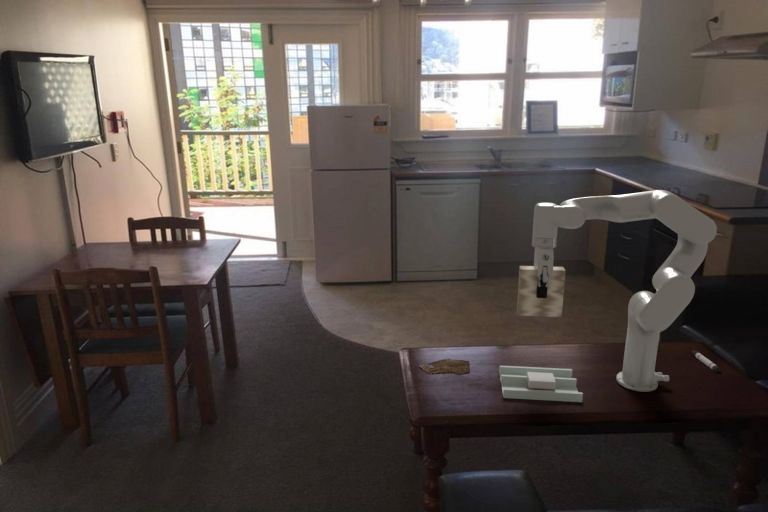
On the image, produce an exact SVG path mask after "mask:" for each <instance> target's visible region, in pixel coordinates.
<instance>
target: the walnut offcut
mask: <svg viewBox="0 0 768 512" xmlns="http://www.w3.org/2000/svg"><path fill="white" fill-rule="evenodd" d="M526 387H527V389H528V390H546V391H555V389H538V388H529V386H528V382H527V381H526Z"/></svg>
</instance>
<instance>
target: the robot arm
mask: <svg viewBox="0 0 768 512" xmlns="http://www.w3.org/2000/svg"><path fill="white" fill-rule="evenodd" d="M533 208H534V209H533V221H532V222H533V223H532V236H531V238H532V239H531V246H532V247H533V248H534V255H533V258H534V259H533V266H534V267H535V269H536V276H537V277H538V286H537V295H536V297H537V298H547V283H548V276H549V278H553V267H554V260H555V259H554V258H555V257H554V254H555V253H554V249H555V248H557V239H558V230H559V229H558V228H563V229H570V230H574V229H575V230H576V229H578V228H582V226H583V225H584V224H585V222H586V221H587V220H605V221H609V222H612V223H628V222H636V221H643V220H654V219H656V220H657V221H659V222H661V223H662V224H663V225H664V226H666V227H667V228H669V229H670V230H671V231H673V232H674V233H676V234H677V243H676V245H675V247H674V249H673V250H672V252H671V253H670V254H669V255H668V257H667V258H666V260H664V262H663V263H662V264H661V265H660V266H659V268H658V269H657V271H656V272H655V273H654V275H652V278H651V279H652V280H651V281H652V282H651V283H652V286H653V288H654V289H655V290H656V292H655V293H653V292H651V291H648V290H642V291H638V292H635V294H633V295H632V296H631V298H630V299H629V302H628V307H627V329H626V338H625V346H624V354H623V362H622V371H619V372H618V373H617V374H616V378H615V379H616V382H617V383H618V384H619V385H620V386H622V387H624V388H625V389H628V390H631V391H636V392H641V393H642V392H646V393H647V392H648V393H649V392H653V391H655V390H656V389H658V385H659V383H658V382H660V381H661V382H662V381H663V382H669V381H670V375H667V374H663V372H661V371H658V372H656V371H655V370H656V369H655V368H656V361H657V354H658V347H659V342H660V341H659V340H660V333H661V332H664V331H666V329H668V328H669V327H670V326H671V325H672V324H673V323H674V321H676V319H677V318H678V317H679V316H680V314H681V313H682V312H683V311H684V310H685V309H686V307H687V306H688V305H689V304H690V303H691V301H692V299H693V298H694V295H695V293H696V292H695V291H696V285H695V283H694V281H693V280H692V276H693V275H694V273H695V272H696V271H697V270H698V268H699V267H700V265H701V264H702V263H703V262H704V260H705V257H706V255H707V254H708V248H709V243H710V242H712V241H713V240H714V239H715V238H716V235H717V232H718V227H717V224H716V222H715V221H714V220H713V219H712V218H711V217H709V216H708V215H706V214H705V213H703V212H701V211H700V210H698V209H697V208H696V207H694V206H692V205H691V204H689V203H688V202H687V201H685V200H684V199H682V198H681V197H680V196H678V195H677V194H675V193H673V192H671V191H669V190H665V189H654V190H647V191H646V190H645V191H641V192H633V193H626V194H625V193H624V194H616V195H613V194H612V195H598V196H596V195H595V196H585V197H577V198H571V199H567V200H564V201H561V203H560V204H559V205H558V204H556V203H553V202H547V201H546V202H537V203H536V204H535V205H534V207H533ZM540 274H541V275H543V277H541V276H540ZM541 279H542V280H541ZM540 281H541V282H540Z"/></svg>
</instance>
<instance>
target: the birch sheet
mask: <svg viewBox="0 0 768 512" xmlns="http://www.w3.org/2000/svg"><path fill="white" fill-rule="evenodd" d="M518 269H519V270H518V283H517V284H518V286H517V300H516V301H517V302H516V313H517V316H519V317H520V316H521V317H522V316H523V317H524V316H525V317H548V318H549V317H550V318H562V316H563V308H564V307H563V305H564V295H565V294H564V293H565V283H566V273H567V272H566V269H565V268H564V266H553V278H549V276H548V283H547V298H537V297H536V295H537V286H538V277H537V276H536V269H535V267H534V265H519V268H518ZM540 276H541V277H543V275H541V274H540ZM541 280H542V279H541ZM540 282H541V281H540Z"/></svg>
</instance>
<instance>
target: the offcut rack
mask: <svg viewBox="0 0 768 512" xmlns="http://www.w3.org/2000/svg"><path fill="white" fill-rule="evenodd" d="M498 369H499V371H498V373H499V374H498V375H499V379H500V384H501V389H502V390H501V391H502V397H503V398H504V399H515V400H516V399H517V400H518V399H519V400H537V401H550V402H551V401H555V402H556V401H557V402H568V403H569V402H572V403H583V396H584V393H583V392H580V391H578V388H577V383H578V382H577V381H578V379H577V378H575V377H573V368H556V367H555V368H554V367H539V366H536V367H535V366H515V365H499V368H498ZM527 372H540V373H553V376H554V379H555V382H556V385H555V391H546V390H528V389H527V387H526V381H527Z"/></svg>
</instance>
